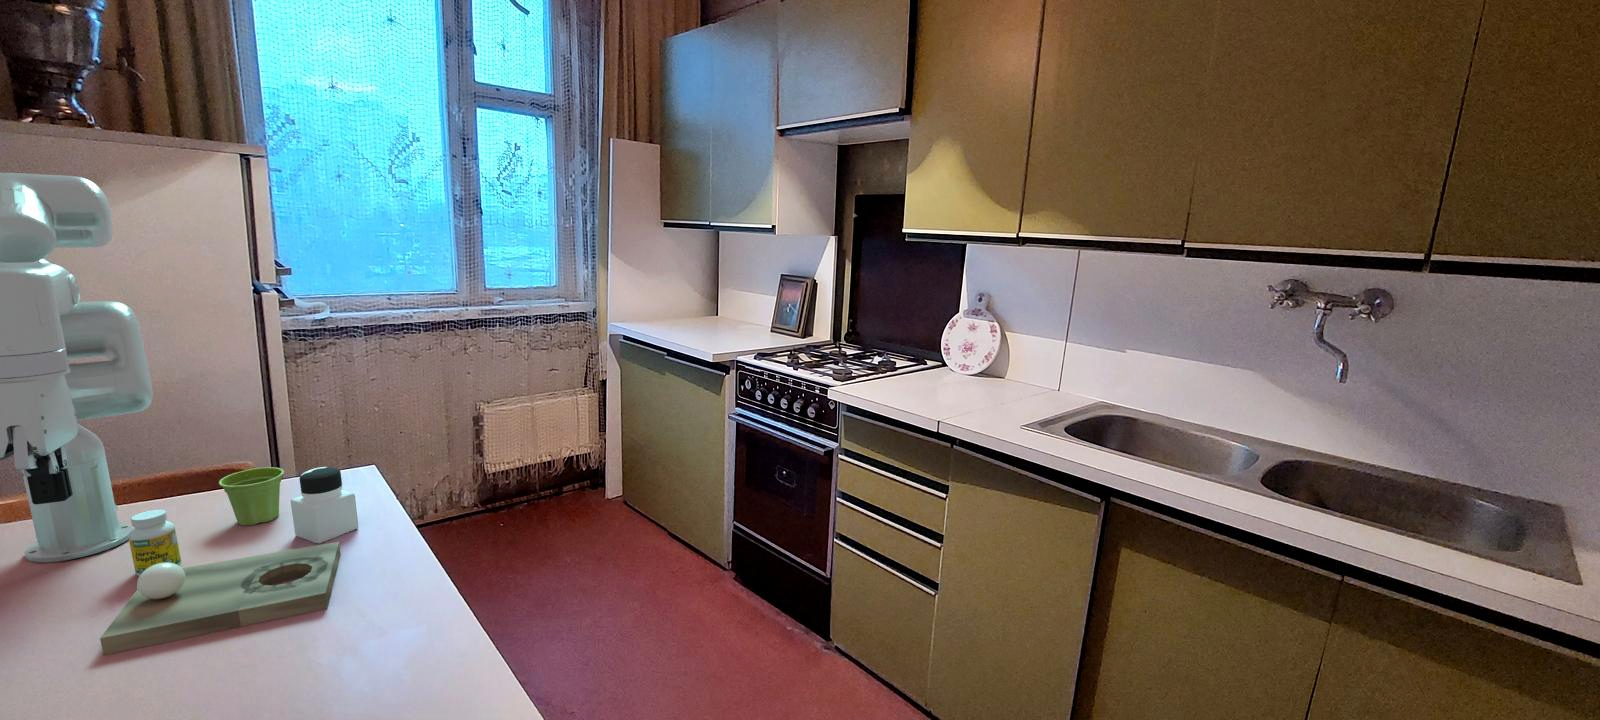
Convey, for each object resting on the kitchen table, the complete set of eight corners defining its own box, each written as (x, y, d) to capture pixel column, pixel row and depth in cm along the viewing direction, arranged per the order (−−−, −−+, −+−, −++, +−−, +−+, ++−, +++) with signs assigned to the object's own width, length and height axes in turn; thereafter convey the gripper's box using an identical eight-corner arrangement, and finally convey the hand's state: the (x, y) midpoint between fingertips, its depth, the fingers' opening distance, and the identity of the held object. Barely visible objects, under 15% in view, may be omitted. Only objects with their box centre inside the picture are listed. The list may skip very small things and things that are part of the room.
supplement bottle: (184, 558, 110) (175, 504, 108) (177, 572, 106) (168, 517, 104) (140, 566, 107) (130, 511, 105) (131, 581, 103) (120, 524, 101)
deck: (152, 588, 101) (149, 573, 101) (340, 554, 113) (339, 541, 112) (103, 655, 86) (99, 638, 85) (327, 608, 97) (325, 592, 97)
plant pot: (262, 531, 120) (256, 486, 119) (212, 529, 121) (204, 484, 119) (301, 509, 130) (296, 467, 128) (254, 508, 130) (248, 466, 128)
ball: (147, 592, 96) (141, 560, 95) (192, 584, 98) (187, 553, 97) (134, 609, 92) (128, 576, 91) (182, 600, 94) (176, 568, 93)
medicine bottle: (359, 528, 122) (352, 467, 120) (318, 544, 116) (310, 480, 114) (335, 520, 125) (328, 461, 123) (294, 536, 119) (285, 473, 117)
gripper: (13, 356, 88) (40, 485, 92) (-57, 380, 75) (-21, 528, 79) (91, 353, 92) (114, 477, 95) (37, 374, 79) (67, 517, 83)
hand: (53, 500), depth 87 cm, fingers closed
